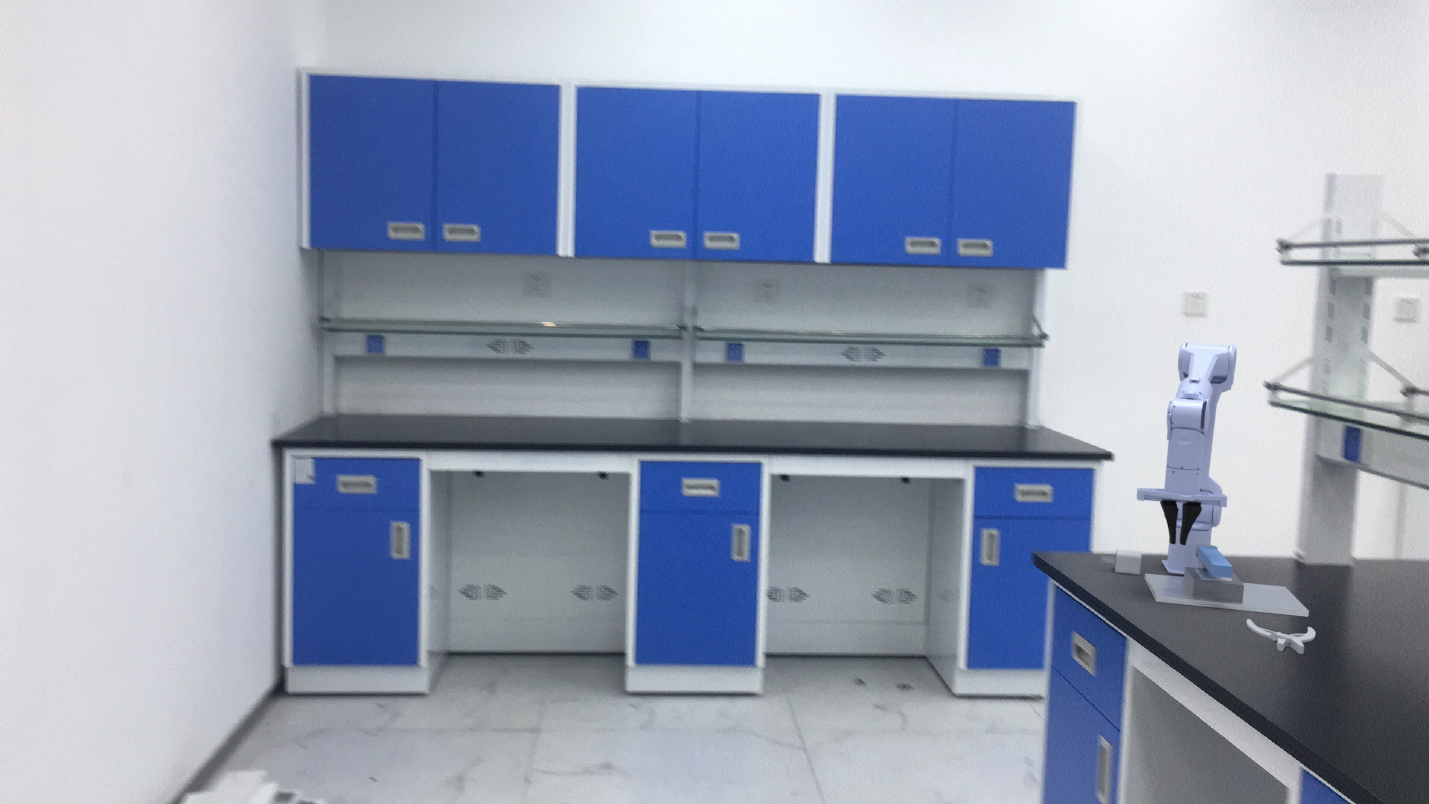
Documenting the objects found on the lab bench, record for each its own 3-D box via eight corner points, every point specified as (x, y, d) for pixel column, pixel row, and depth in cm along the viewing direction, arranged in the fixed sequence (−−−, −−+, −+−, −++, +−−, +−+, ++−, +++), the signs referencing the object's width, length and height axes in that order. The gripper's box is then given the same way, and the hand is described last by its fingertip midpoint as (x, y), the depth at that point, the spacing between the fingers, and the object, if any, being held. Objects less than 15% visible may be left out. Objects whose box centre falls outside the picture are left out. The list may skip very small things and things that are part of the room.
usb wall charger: (1139, 576, 210) (1141, 555, 210) (1101, 571, 212) (1102, 551, 212) (1138, 571, 214) (1140, 550, 214) (1100, 566, 216) (1102, 546, 216)
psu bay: (1144, 578, 208) (1146, 552, 207) (1284, 592, 202) (1287, 564, 202) (1156, 601, 192) (1158, 572, 192) (1308, 616, 187) (1311, 587, 186)
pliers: (1313, 622, 179) (1328, 649, 165) (1312, 631, 180) (1327, 659, 166) (1246, 613, 183) (1255, 639, 169) (1245, 623, 183) (1254, 649, 169)
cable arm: (1193, 553, 206) (1194, 543, 205) (1214, 555, 205) (1215, 545, 205) (1210, 576, 189) (1211, 564, 189) (1233, 578, 189) (1234, 566, 188)
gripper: (1142, 467, 192) (1136, 544, 194) (1233, 474, 189) (1226, 552, 190) (1137, 461, 199) (1131, 536, 201) (1225, 467, 196) (1218, 543, 197)
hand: (1177, 543), depth 196 cm, fingers closed
